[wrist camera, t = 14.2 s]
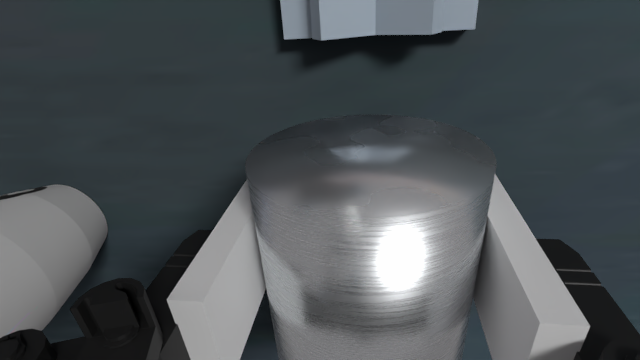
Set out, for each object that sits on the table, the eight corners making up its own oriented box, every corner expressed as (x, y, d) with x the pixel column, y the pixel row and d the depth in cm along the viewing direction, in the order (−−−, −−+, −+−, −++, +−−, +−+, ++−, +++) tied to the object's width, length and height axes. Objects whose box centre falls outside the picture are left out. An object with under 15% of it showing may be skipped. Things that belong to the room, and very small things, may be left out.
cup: (42, 137, 21) (-196, 233, 12) (152, 225, 23) (11, 364, 14) (-2, 211, 25) (-215, 328, 16) (96, 283, 26) (-46, 425, 18)
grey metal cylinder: (456, 352, 15) (439, 530, 10) (323, 313, 17) (257, 444, 12) (495, 121, 10) (498, 243, 5) (307, 109, 13) (190, 189, 8)
